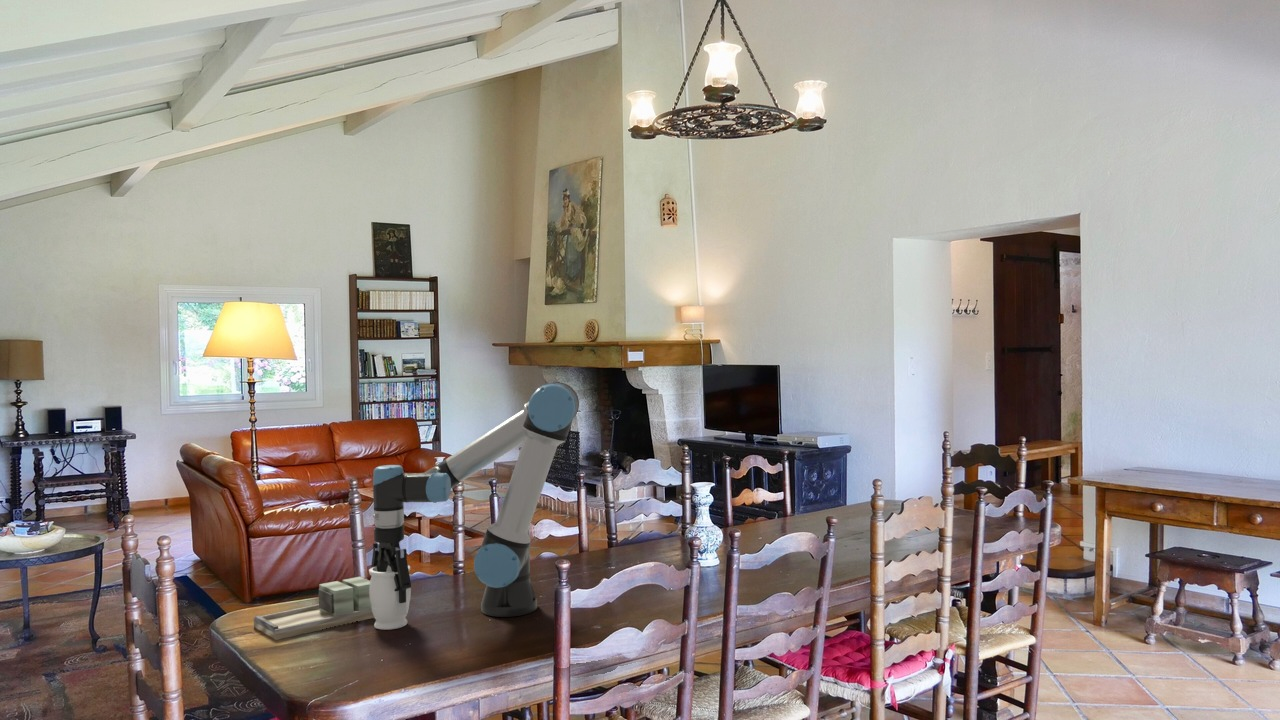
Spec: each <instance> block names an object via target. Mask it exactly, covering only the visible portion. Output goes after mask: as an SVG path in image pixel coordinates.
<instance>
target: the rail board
mask: <svg viewBox="0 0 1280 720" xmlns="http://www.w3.org/2000/svg"><path fill="white" fill-rule="evenodd" d="M318 587H319V588H318V603H317V604H312V605H308V606H303V607H297V608H292V609H287V610H285V611H284V610H283V611H279V612H273V613H269V614H265V615H256V616H254V617H253V628H255V629H257V630H258V631H260V632H262V633H263V634H265V635H266V636H268V637H270V638H272V639H274V640H275V641H277V640H278V641H279V640H282V639H287V638H291V637H296V636H299V635H305V634H308V633H312V632H317V631H322V629H323V630H326V628H327V629H330V627H331V628H335V627H334V626H336V627H339V626H338V625H340V626H344V625H343V624H345V625H348V624H347V623H349V624H352V622H353V623H357V622H356V621H358V622H363V621H367V620H371V619H375V618H374V616H373V613H372V608H371V602H370V596H369V587H370V580H369V579H366V578H364V577H362V576H355V577H350V578H346V579H342V580H341V581H338V580H336V581H331V582H330V581H329V582H325V583H320V584H318Z"/></svg>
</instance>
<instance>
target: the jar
mask: <svg viewBox="0 0 1280 720" xmlns="http://www.w3.org/2000/svg"><path fill="white" fill-rule="evenodd" d="M408 570H409V572H410V571H411V566H410V565H409V564H408ZM368 573H369V576H370V575H371V577H370V580H369V581H370V587H369V596H370V602H371V608H372V613H373V616H374V618H373V619H374V620H375V622H374V625H373V626H374V628H375V629H378V630H384V631H386V630H388V631H390V630H397V629H400V628H403V627H405V626H407V624H408V619H407V618H406V617H407V615H408V612H409V608H410V602H411V597H412V594H411V592H412V587H411V588H408V589H406V614H405V615H401V616H395V591H394V590H395V589H396V584H395V581H394V576H395V574H398V572H395V573H394V572H392V570H391V567H390V566H389V565H388V567H387V570H386V572H378V571H377V566H375V567H372V568H371V567H370V568H369V569H368Z"/></svg>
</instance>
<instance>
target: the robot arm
mask: <svg viewBox="0 0 1280 720" xmlns="http://www.w3.org/2000/svg"><path fill="white" fill-rule="evenodd" d="M579 407H580V399H579V396H578V394H577V392H576V390H575V389H574V388H573V387H572V386H570V385H568V384H567V383H565V382H557V381H555V382H551V383H546V384H543V385H541V386H540V387H538V388H537V389H536V390H535V391H534V392H533V394H531V396H530V398H529V401H527V402H526V403H524V406H523V409H522V410H520V411H519V412H517V413H515V414H514V415H512V416H511V417H509V418H507V419H506V420H505V421H503V422H502V423H500V424H498V425H497V426H495V427H494V428H492V429H491V430H489V431H488V432H486V433H484V434H483V435H481V436H480V437H478V438H477V439H475V440H473V441H472V442H470V443H469V444H468V445H466V446H464V447H462V448H461V449H459V450H458V451H456V452H455V453H454V454H452V455H450V456H449V457H447V458H445V459H444V460H443V461H441V462H439V463H438V464H436V465H434V466H433V467H431V468H430V469H428V470H426V471H424V472H417V473H412V472H411V473H410V472H409V473H407V472H404V468H403V466H402V465H400V464H386V465H379V466H377V467H375V468H374V469H373V478H372V479H373V480H372V493H373V495H372V496H373V498H372V499H373V515H372V518H373V525H374V526H375V527H374V528H373V540H374V543H372V558H371V559H372V560H371V566H370V568H372V567H375V566H377V571H378V572H386V570H387V567H388V565H389V566H390V567H391V570H392V572H394V573H395V572H398V574H395V576H394V581H395V584H396V589H395V590H394V591H395V616H401V615H405V614H406V589H408V588H411V589H412V584H411V583H412V582H411V577H410V571H409V570H408V565H409V564H408V557H407V549H406V548H401V546H400V543H401V541H403V540H404V539H405V526H404V525H403V524H405V507H404V503H433V504H436V503H441V502H443V503H444V502H447V501H449V499H450V496H451V493H452V489H453V488H454V487H456V486H457V485H460V483H462V482H463V481H465V480H466V479H468V478H469V477H471V476H473V475H474V474H476V473H477V472H479V471H481V470H483V469H484V468H485V467H487V466H488V465H490V464H492V463H493V462H495V461H496V460H498V459H499V458H501V457H503V456H505V455H506V454H507V453H509V452H511V451H512V450H513V449H516V448H517V447H518V446H520V445H522V446H521V449H520V451H519V454H518V456H517V460H516V463H515V466H514V469H513V472H512V474H511V477H510V480H509V483H508V486H507V489H506V491H505V495H504V498H503V500H502V503H501V506H500V509H499V511H498V515H497V517H496V521H495V522H494V523H493V522H492V523H491V524H490V525H488V526H487V528H486V531H485V534H484V537H483V540H482V542H481V545H480V548H479V549H478V551H477V552H476V554H475V555H474V560H473V561H474V562H473V570H474V573H475V575H476V577H477V579H478V580H479V581H480V582H481V583H482V584H484V585H486V586H485V589H484V592H483V595H482V600H481V603H480V608H481V609H480V610H481V611H480V612H481V613H482V614H484V615H487V616H489V617H497V618H498V617H499V618H509V617H518V616H524V615H528V614H532V613H533V612H535V611H536V610H537V608H538V600H537V597H536V593H535V591H534V587H533V585H532V582H531V559H530V558H531V557H530V556H531V555H530V554H531V553H530V543H531V542H532V541H531V535H530V526H531V524H532V520H533V518H534V514H535V512H536V508H537V505H538V503H539V500H540V498H541V494H542V492H543V489H544V486H545V482H546V480H547V477H548V474H549V471H550V468H551V466H552V463H553V460H554V458H555V455H556V451H557V448H558V446H559V445H561V444H563V443H566V440H567V437H568V436H569V432H570V429H571V426H572V423H573V421H574V418H575V417H576V416H577V414H578V411H579V410H580V409H579ZM369 578H371V575H370V574H369Z"/></svg>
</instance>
